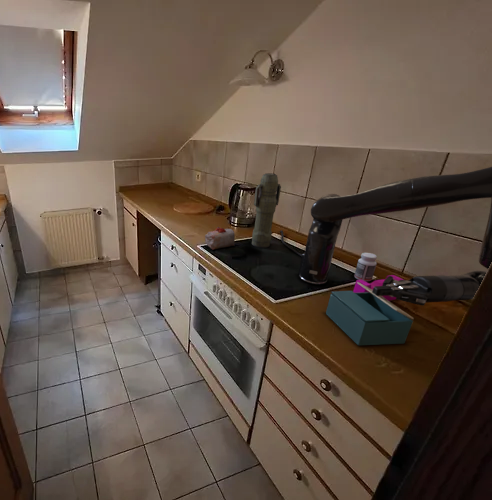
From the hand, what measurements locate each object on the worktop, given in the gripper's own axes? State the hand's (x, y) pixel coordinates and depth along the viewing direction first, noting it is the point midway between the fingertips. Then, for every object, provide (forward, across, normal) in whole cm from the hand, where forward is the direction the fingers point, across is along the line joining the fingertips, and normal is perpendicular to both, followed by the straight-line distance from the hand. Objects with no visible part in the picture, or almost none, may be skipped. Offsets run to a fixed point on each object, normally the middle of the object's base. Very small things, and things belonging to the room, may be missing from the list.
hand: (374, 291), depth 84 cm
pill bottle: (-21, -29, +13) cm, 38 cm away
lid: (-3, 0, +3) cm, 4 cm away
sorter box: (0, 0, +12) cm, 13 cm away
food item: (+25, -67, +13) cm, 72 cm away
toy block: (-14, -16, +13) cm, 25 cm away
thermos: (+4, -67, +13) cm, 69 cm away
